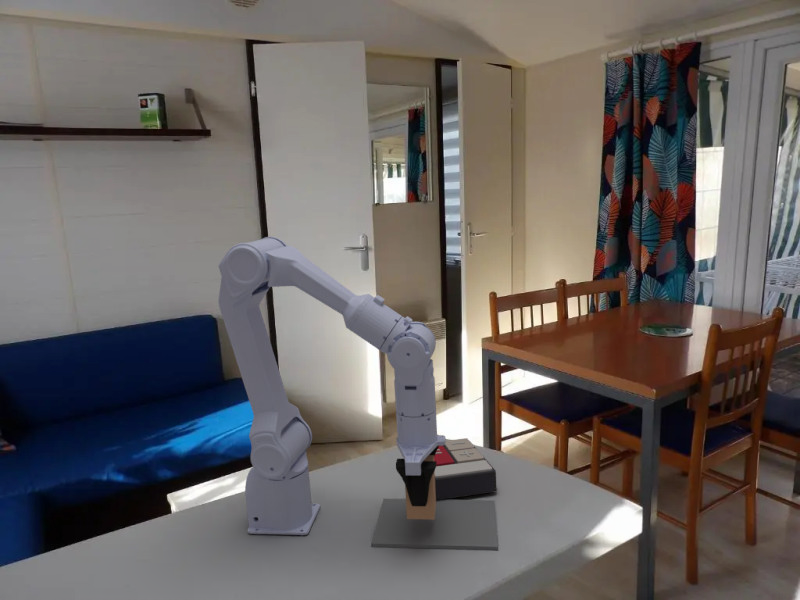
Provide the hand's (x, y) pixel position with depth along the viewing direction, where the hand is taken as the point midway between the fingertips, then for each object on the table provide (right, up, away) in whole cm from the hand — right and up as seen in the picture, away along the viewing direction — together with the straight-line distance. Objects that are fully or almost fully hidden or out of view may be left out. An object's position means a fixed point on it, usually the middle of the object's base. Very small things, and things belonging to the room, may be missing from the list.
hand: (420, 496), depth 85 cm
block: (0, -2, 0) cm, 3 cm away
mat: (+3, -5, +3) cm, 6 cm away
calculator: (+6, -2, +16) cm, 17 cm away
